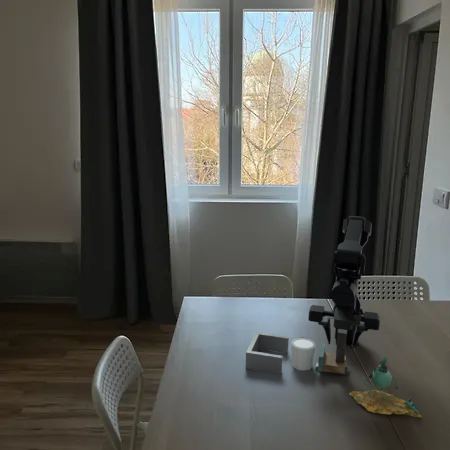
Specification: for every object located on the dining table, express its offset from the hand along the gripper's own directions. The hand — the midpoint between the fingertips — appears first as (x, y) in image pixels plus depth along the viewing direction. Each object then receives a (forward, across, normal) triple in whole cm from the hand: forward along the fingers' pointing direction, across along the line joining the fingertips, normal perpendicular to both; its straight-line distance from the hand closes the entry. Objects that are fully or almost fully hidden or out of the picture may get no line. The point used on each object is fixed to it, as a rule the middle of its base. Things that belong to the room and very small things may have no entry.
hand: (341, 345), depth 130 cm
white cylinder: (+8, -10, 0) cm, 13 cm away
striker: (+7, -2, 0) cm, 7 cm away
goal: (+8, -20, 0) cm, 22 cm away
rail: (+8, -2, 0) cm, 8 cm away
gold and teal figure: (+8, +11, -14) cm, 20 cm away
